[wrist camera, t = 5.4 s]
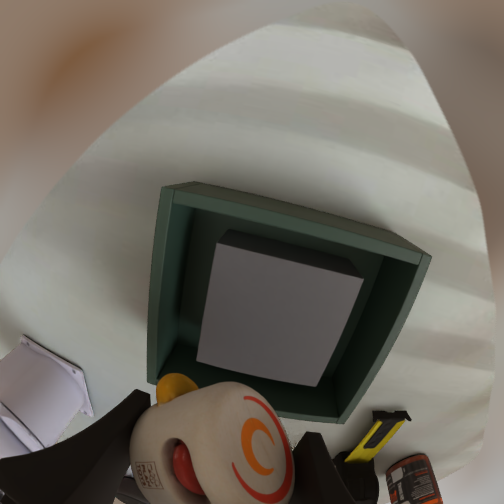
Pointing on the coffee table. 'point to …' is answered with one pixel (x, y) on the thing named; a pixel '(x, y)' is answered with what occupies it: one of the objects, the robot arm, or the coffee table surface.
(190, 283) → the crate
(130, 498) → the smart speaker
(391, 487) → the supplement bottle
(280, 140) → the coffee table surface
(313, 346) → the grey block
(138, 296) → the coffee table surface
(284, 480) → the roller toy
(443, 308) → the coffee table surface
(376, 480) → the tape measure
